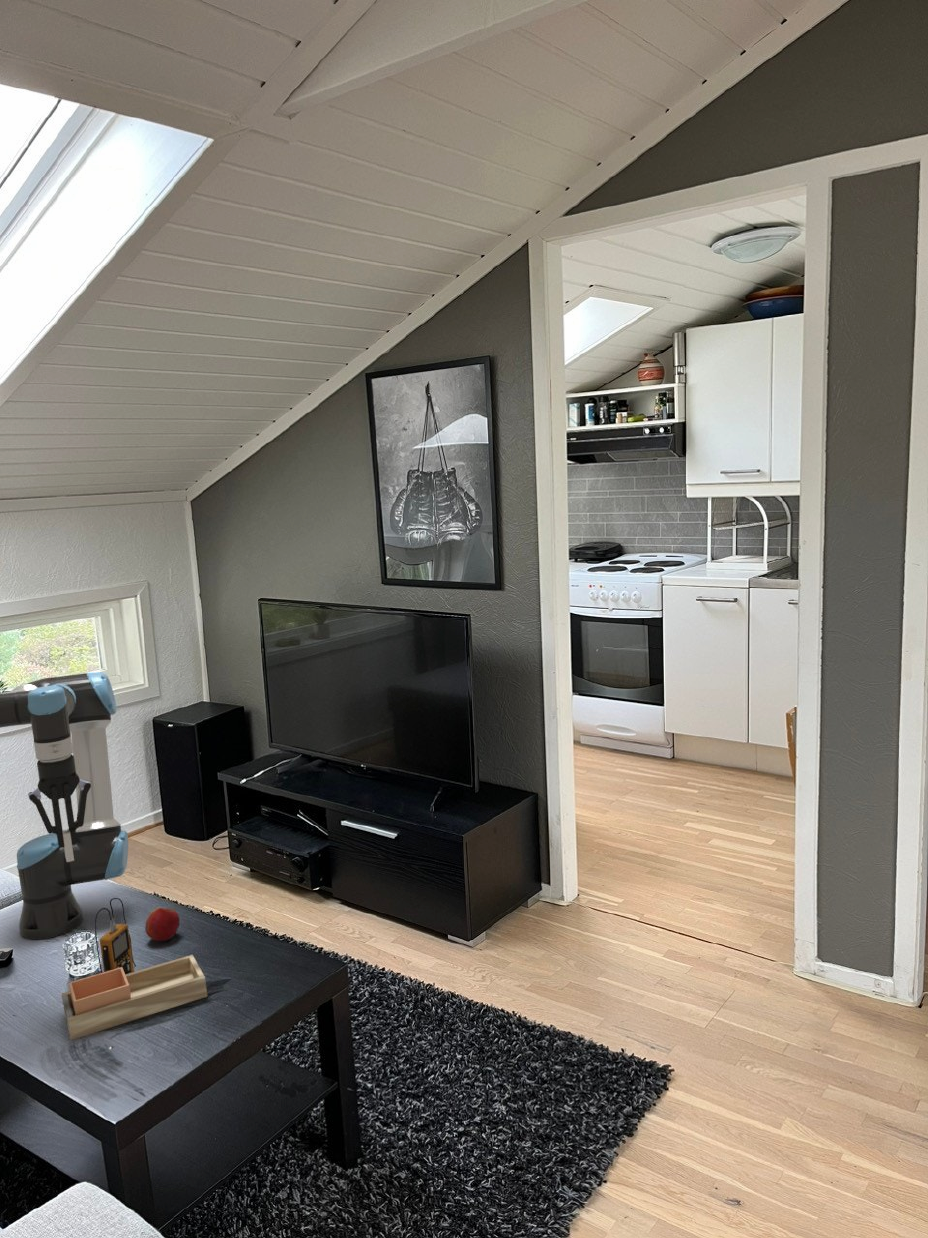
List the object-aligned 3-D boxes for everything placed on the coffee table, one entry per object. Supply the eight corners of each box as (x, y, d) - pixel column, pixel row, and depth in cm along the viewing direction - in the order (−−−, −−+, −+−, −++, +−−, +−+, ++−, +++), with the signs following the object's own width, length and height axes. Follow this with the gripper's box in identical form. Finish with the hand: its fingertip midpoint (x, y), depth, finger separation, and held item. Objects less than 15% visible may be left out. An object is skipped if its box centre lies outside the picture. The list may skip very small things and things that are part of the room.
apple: (179, 944, 234) (175, 913, 233) (144, 949, 233) (140, 918, 231) (183, 929, 241) (179, 900, 240) (150, 934, 240) (146, 904, 239)
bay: (64, 1012, 207) (61, 993, 206) (194, 972, 220) (192, 954, 219) (71, 1040, 196) (68, 1020, 196) (207, 996, 209) (205, 977, 208)
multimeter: (137, 1005, 209) (125, 919, 205) (96, 1002, 211) (84, 917, 208) (171, 969, 223) (161, 889, 219) (133, 967, 225) (122, 887, 222)
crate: (72, 1008, 206) (68, 982, 205) (125, 992, 211) (122, 967, 210) (77, 1028, 198) (73, 1002, 197) (132, 1011, 203) (129, 985, 202)
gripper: (23, 767, 202) (39, 872, 206) (89, 755, 208) (103, 857, 212) (21, 759, 209) (36, 861, 213) (84, 747, 215) (98, 846, 219)
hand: (69, 859), depth 212 cm, fingers closed
